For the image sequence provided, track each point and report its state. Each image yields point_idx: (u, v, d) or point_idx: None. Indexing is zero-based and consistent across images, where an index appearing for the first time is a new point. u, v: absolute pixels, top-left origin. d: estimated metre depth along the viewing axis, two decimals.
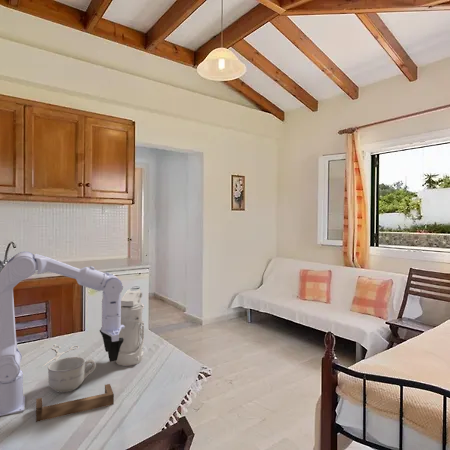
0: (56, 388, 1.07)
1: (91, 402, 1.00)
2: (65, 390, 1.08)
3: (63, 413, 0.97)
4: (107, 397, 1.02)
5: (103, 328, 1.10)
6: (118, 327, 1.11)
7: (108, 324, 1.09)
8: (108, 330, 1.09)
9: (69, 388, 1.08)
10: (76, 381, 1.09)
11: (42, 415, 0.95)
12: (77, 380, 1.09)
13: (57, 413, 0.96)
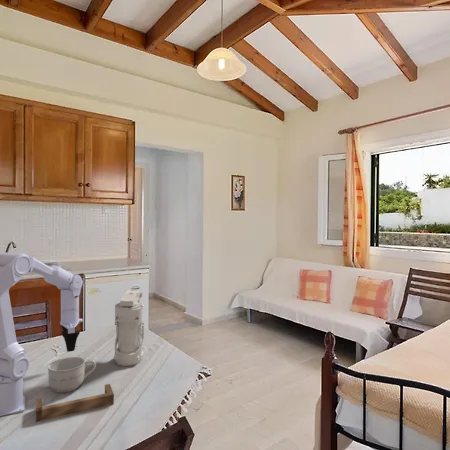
0: (56, 388, 1.07)
1: (91, 402, 1.00)
2: (65, 390, 1.08)
3: (63, 413, 0.97)
4: (107, 397, 1.02)
5: (62, 321, 1.20)
6: (76, 320, 1.21)
7: (66, 317, 1.19)
8: (66, 323, 1.19)
9: (69, 388, 1.08)
10: (76, 381, 1.09)
11: (42, 415, 0.95)
12: (77, 380, 1.09)
13: (57, 413, 0.96)
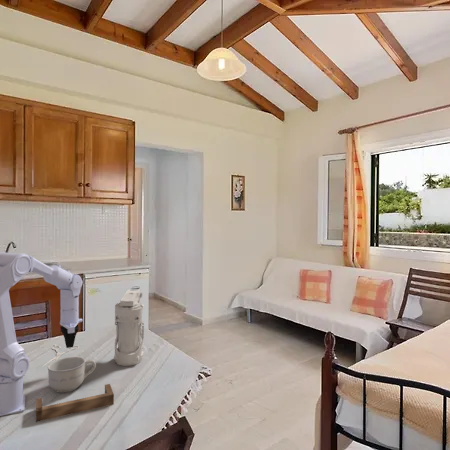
0: (56, 388, 1.07)
1: (91, 402, 1.00)
2: (65, 390, 1.08)
3: (63, 413, 0.97)
4: (107, 397, 1.02)
5: (61, 321, 1.20)
6: (75, 320, 1.21)
7: (66, 317, 1.19)
8: (66, 323, 1.19)
9: (69, 388, 1.08)
10: (76, 381, 1.09)
11: (42, 415, 0.95)
12: (77, 380, 1.09)
13: (57, 413, 0.96)
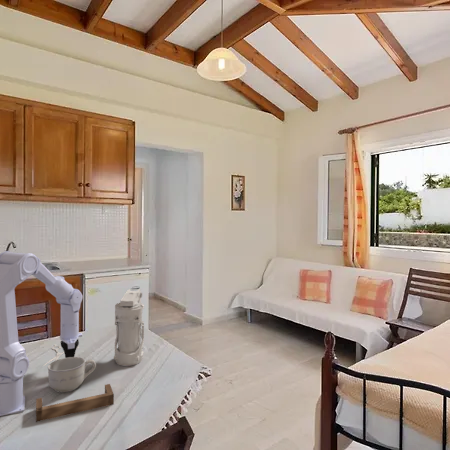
0: (56, 388, 1.07)
1: (91, 402, 1.00)
2: (65, 390, 1.08)
3: (63, 413, 0.97)
4: (107, 397, 1.02)
5: (61, 336, 1.20)
6: (75, 335, 1.21)
7: (66, 333, 1.19)
8: (66, 338, 1.19)
9: (69, 388, 1.08)
10: (76, 381, 1.09)
11: (42, 415, 0.95)
12: (77, 380, 1.09)
13: (57, 413, 0.96)
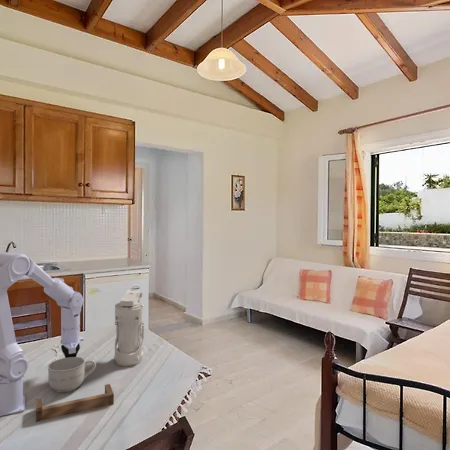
0: (56, 388, 1.07)
1: (91, 402, 1.00)
2: (65, 390, 1.08)
3: (63, 413, 0.97)
4: (107, 397, 1.02)
5: (62, 340, 1.16)
6: (77, 339, 1.17)
7: (66, 337, 1.15)
8: (66, 342, 1.15)
9: (69, 388, 1.08)
10: (76, 381, 1.09)
11: (42, 415, 0.95)
12: (77, 380, 1.09)
13: (57, 413, 0.96)
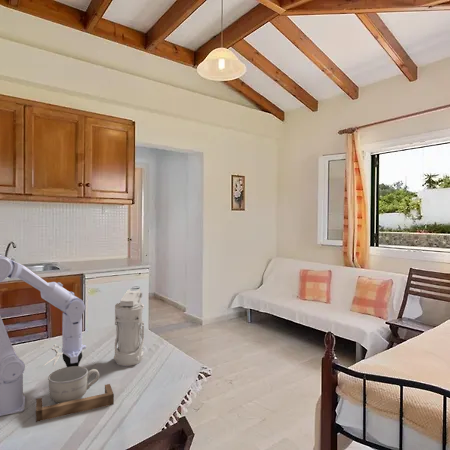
0: (57, 400, 1.00)
1: (91, 402, 1.00)
2: None
3: (63, 413, 0.97)
4: (107, 397, 1.02)
5: (63, 349, 1.10)
6: (79, 348, 1.11)
7: (68, 345, 1.09)
8: (68, 351, 1.09)
9: (71, 400, 1.01)
10: (78, 393, 1.02)
11: (42, 415, 0.95)
12: (79, 391, 1.02)
13: (57, 413, 0.96)
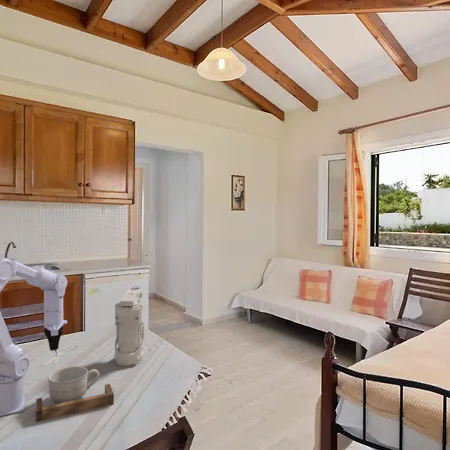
0: (57, 400, 1.00)
1: (91, 402, 1.00)
2: None
3: (63, 413, 0.97)
4: (107, 397, 1.02)
5: (45, 323, 1.15)
6: (60, 322, 1.16)
7: (49, 319, 1.14)
8: (49, 325, 1.14)
9: (71, 400, 1.01)
10: (78, 393, 1.02)
11: (42, 415, 0.95)
12: (79, 392, 1.02)
13: (57, 413, 0.96)
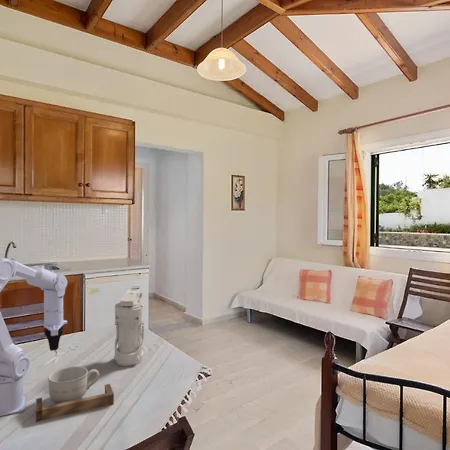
0: (57, 400, 1.00)
1: (91, 402, 1.00)
2: None
3: (63, 413, 0.97)
4: (107, 397, 1.02)
5: (45, 323, 1.15)
6: (60, 322, 1.16)
7: (49, 319, 1.14)
8: (49, 325, 1.14)
9: (71, 400, 1.01)
10: (78, 393, 1.02)
11: (42, 415, 0.95)
12: (79, 392, 1.02)
13: (57, 413, 0.96)
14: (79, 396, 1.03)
